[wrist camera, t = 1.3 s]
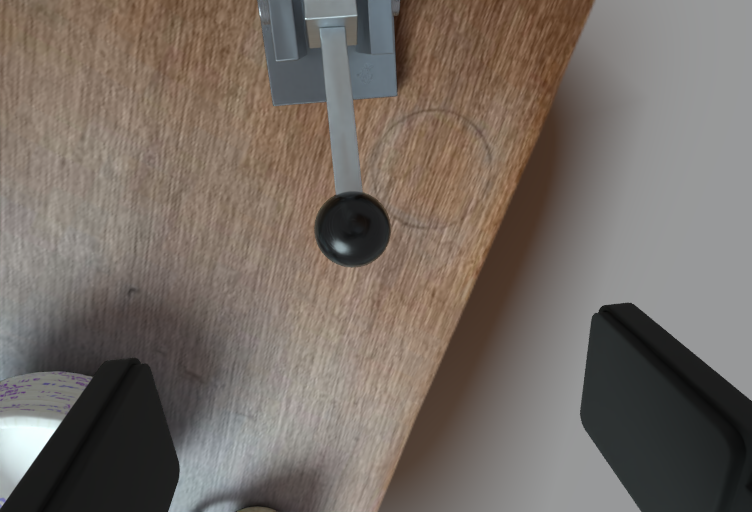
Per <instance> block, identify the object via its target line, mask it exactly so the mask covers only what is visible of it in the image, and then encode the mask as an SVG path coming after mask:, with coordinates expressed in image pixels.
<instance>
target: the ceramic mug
mask: <svg viewBox="0 0 752 512" xmlns="http://www.w3.org/2000/svg"><path fill="white" fill-rule="evenodd" d="M236 512H277V511H275V510H273V509H270V508H267V507H257V506H255V507H249V508H244V509H241V510H238V511H236Z"/></svg>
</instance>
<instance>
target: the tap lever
mask: <svg viewBox="0 0 752 512" xmlns="http://www.w3.org/2000/svg"><path fill="white" fill-rule="evenodd" d="M303 7H304V17H305V24H306V30H307V37H308V43H309V48H321V51H322V61H323V70H324V80H325V90H326V100H327V110H328V120H329V130H330V140H331V150H332V160H333V170H334V180H335V190H336V195H335V196H333V197H331V198H330V199H329V200H327V201H326V202H325V203H324V204H323V206H322V207H321V208H320V210H319V212H318V214H317V217H316V220H315V227H314V231H315V238H316V242H317V244H318V246H319V248H320V250H321V251H322V253H323V254H324V255H325V256H326V257H327V258H328V259H329V260H331V261H332V262H334V263H336V264H338V265H341V266H344V267H361V266H365V265H367V264H370V263H372V262H373V261H375V260H376V259H377V258H378V257H380V255H381V254H382V253H383V252H384V250H385V249H386V247H387V245H388V242H389V239H390V234H391V224H390V219H389V216H388V214H387V212H386V210H385V208H384V207H383V205H382V204H381V203H380V202H379V201H378V200H377V199H375V198H374V197H372V196H370V195H369V194H366V193H363V192H362V182H361V173H360V163H359V153H358V144H357V134H356V125H355V115H354V106H353V96H352V87H351V77H350V68H349V58H348V49H347V46H349V45H357V36H358V8H357V0H303Z"/></svg>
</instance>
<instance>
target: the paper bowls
mask: <svg viewBox="0 0 752 512" xmlns="http://www.w3.org/2000/svg"><path fill="white" fill-rule="evenodd" d="M92 378H93V377H91V376H85V375H82V374H78V373H70V372H64V371H63V372H60V371H55V372H35V373H29V374H24V375H19V376H15V377H10V378H8V379H5V380H3V381H0V508H1V507H2V506H3V504H4V503H5V501H6V500H7V499H8V497H9V496H10V494H11V493H12V491H13V490H14V489H15V487H16V486H17V484H18V483H19V482H20V480H21V479H22V477H23V476H24V474H25V473H26V472H27V470H28V469H29V467H30V466H31V464H32V463H33V462H34V460H35V459H36V457H37V456H38V455H39V453H40V452H41V450H42V449H43V447H44V446H45V445H46V443H47V442H48V440H49V439H50V438H51V436H52V435H53V433H54V432H55V430H56V429H57V428H58V426H59V425H60V423H61V422H62V420H63V419H64V418H65V416H66V415H67V413H68V412H69V411H70V409H71V408H72V406H73V405H74V403H75V402H76V401H77V399H78V398H79V396H80V395H81V394H82V392H83V391H84V389H85V388H86V386H87V385H88V384H89V382H90V381H91V379H92Z"/></svg>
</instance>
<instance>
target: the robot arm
mask: <svg viewBox="0 0 752 512" xmlns="http://www.w3.org/2000/svg"><path fill="white" fill-rule="evenodd" d="M580 416H581V421H582V424H583V426H584V428H585V430H586V432H587V433H588V434H589V436H590V437H591V439H592V440H593V442H594V443H595V444H596V446H597V448H598V449H599V450H600V452H601V453H602V455H603V456H604V458H605V459H606V461H607V462H608V464H609V465H610V466H611V468H612V469H613V471H614V472H615V474H616V475H617V477H618V478H619V480H620V481H621V482H622V484H623V485H624V487H625V488H626V490H627V491H628V493H629V494H630V496H631V497H632V498H633V500H634V501H635V503H636V504H637V506H638V507H639V509H640V510H641V512H752V401H751V400H749V399H748V398H747V397H746V396H745V395H744V394H742V393H741V392H740V391H739V390H737V389H736V388H735V387H734V386H733V385H731V384H730V383H729V382H728V381H727V380H725V379H724V378H723V377H722V376H720V375H719V374H718V373H717V372H716V371H714V370H713V369H712V368H711V367H709V366H708V365H707V364H706V363H705V362H703V361H702V360H701V359H700V358H698V357H697V356H696V355H695V354H693V353H692V352H691V351H690V350H689V349H688V348H686V347H685V346H684V345H683V344H681V343H680V342H679V341H678V340H677V339H675V338H674V337H673V336H672V335H671V334H669V333H668V332H667V331H666V330H664V329H663V328H662V327H661V326H660V325H658V324H657V323H656V322H654V321H653V320H652V319H651V318H650V317H649V316H647V315H646V314H645V313H644V312H643V311H641V310H640V309H639V308H638V307H636V306H635V305H634V304H632V303H621V304H612V305H604V306H602V307H601V308H600V310H599V312H598V313H595V314H594V315H593V316H592V321H591V328H590V336H589V345H588V352H587V360H586V369H585V377H584V385H583V394H582V402H581V410H580ZM179 472H180V468H179V461H178V458H177V455H176V451H175V448H174V445H173V441H172V438H171V435H170V431H169V428H168V425H167V422H166V418H165V415H164V412H163V408H162V405H161V402H160V399H159V395H158V392H157V389H156V385H155V382H154V379H153V375H152V372H151V369H150V367H149V366H148V364H141V362H140V361H139V360H138V359H137V358H128V359H119V360H110V361H106V362H104V363H103V364H102V365H101V367H100V368H99V369H98V371H97V372H96V374H95V375H94V376H93V378H92V379H91V381H90V382H89V384H88V385H87V386H86V388H85V389H84V391H83V392H82V394H81V395H80V396H79V398H78V399H77V401H76V402H75V403H74V405H73V406H72V408H71V409H70V411H69V412H68V413H67V415H66V416H65V418H64V419H63V420H62V422H61V423H60V425H59V426H58V428H57V429H56V430H55V432H54V433H53V435H52V436H51V438H50V439H49V440H48V442H47V443H46V445H45V446H44V447H43V449H42V450H41V452H40V453H39V455H38V456H37V457H36V459H35V460H34V462H33V463H32V464H31V466H30V467H29V469H28V470H27V472H26V473H25V474H24V476H23V477H22V479H21V480H20V482H19V483H18V484H17V486H16V487H15V489H14V490H13V491H12V493H11V494H10V496H9V497H8V499H7V500H6V501H5V503H4V504H3V506H2V507H1V508H0V512H168V510H169V507H170V504H171V501H172V498H173V495H174V492H175V489H176V486H177V483H178V480H179Z"/></svg>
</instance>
